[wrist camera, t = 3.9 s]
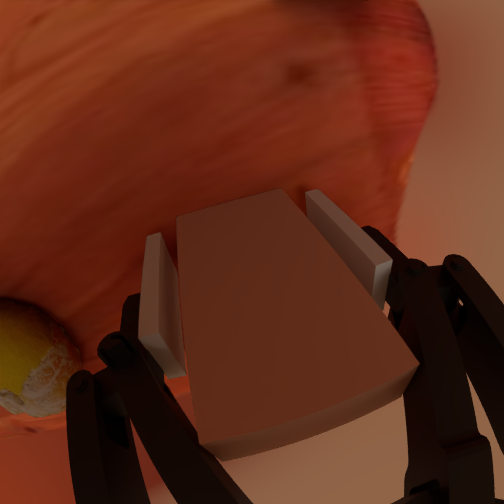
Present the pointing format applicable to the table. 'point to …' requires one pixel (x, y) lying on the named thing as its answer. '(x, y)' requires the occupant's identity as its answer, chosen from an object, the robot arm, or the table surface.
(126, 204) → the table surface
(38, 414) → the fruit
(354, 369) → the domino
